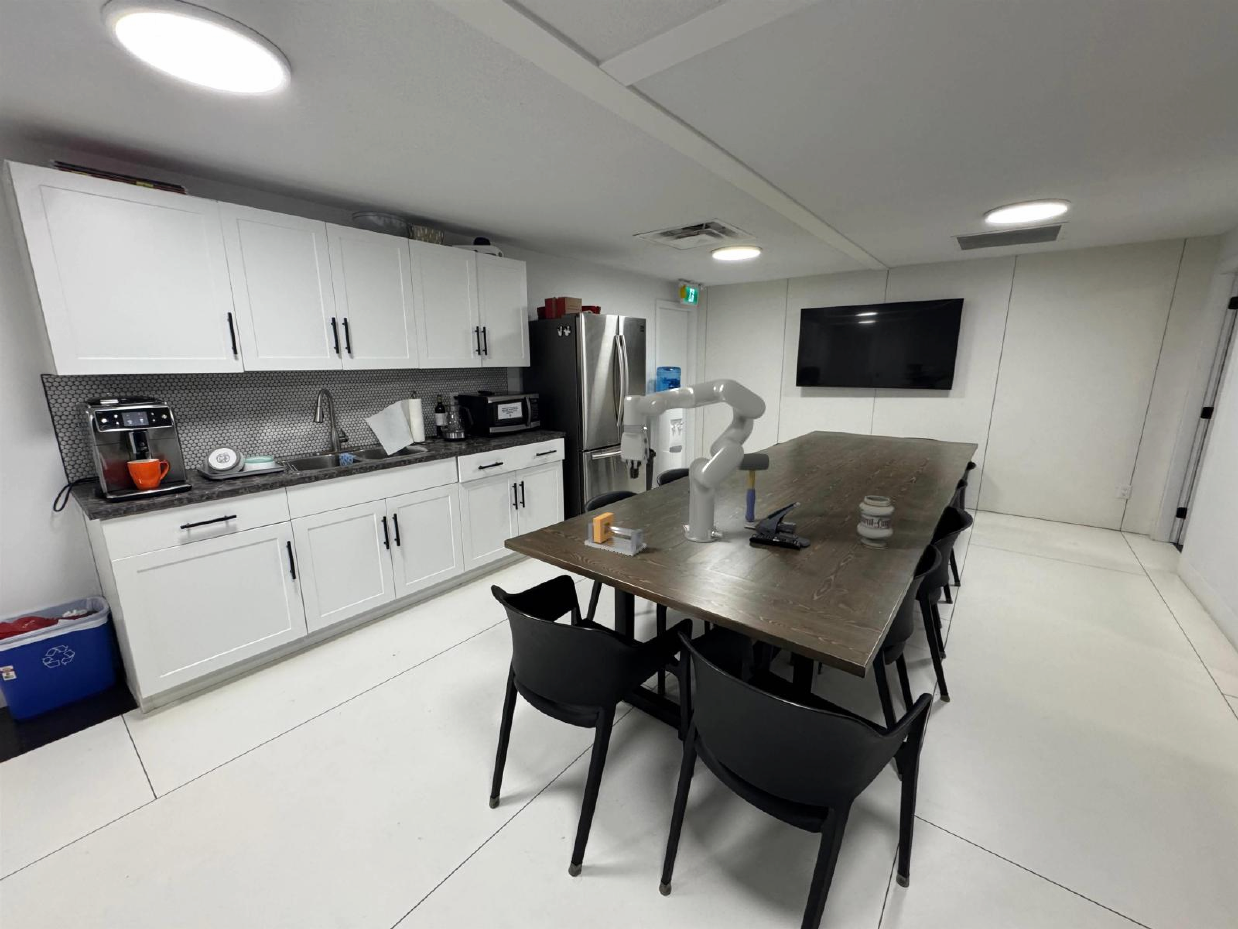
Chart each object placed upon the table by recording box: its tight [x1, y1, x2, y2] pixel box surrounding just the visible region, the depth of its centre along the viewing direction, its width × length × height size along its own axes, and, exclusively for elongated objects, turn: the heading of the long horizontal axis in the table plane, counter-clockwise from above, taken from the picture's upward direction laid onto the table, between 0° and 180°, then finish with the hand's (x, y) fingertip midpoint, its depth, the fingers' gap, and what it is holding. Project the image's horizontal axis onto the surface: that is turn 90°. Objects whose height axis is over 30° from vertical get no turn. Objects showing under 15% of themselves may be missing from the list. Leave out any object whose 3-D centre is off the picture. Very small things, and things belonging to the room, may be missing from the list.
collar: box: [592, 512, 615, 543], centre depth 181 cm, size 3×9×9 cm, turn 148°
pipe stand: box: [584, 521, 647, 557], centre depth 179 cm, size 21×10×8 cm, turn 57°
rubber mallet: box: [737, 452, 770, 522], centre depth 205 cm, size 12×8×30 cm, turn 90°
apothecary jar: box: [856, 495, 896, 550], centre depth 179 cm, size 12×12×18 cm
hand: (634, 477), depth 179 cm, fingers closed
